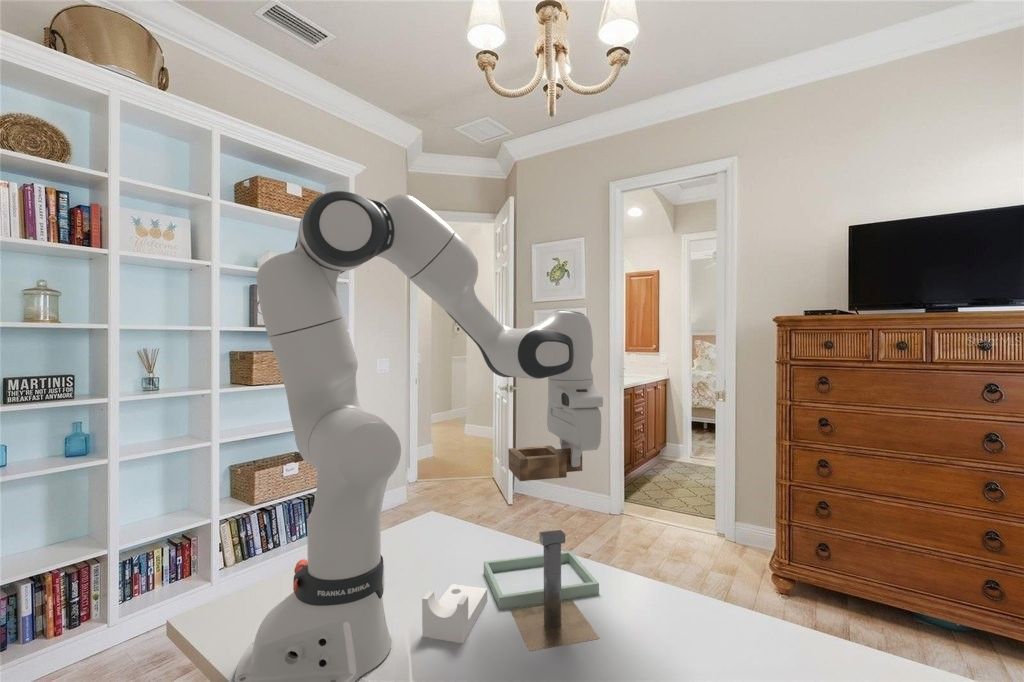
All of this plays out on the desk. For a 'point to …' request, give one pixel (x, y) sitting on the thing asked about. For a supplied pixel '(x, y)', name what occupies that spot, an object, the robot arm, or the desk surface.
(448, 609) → the bracket
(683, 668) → the desk surface
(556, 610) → the post stand
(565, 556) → the sage tray
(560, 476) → the walnut collar
